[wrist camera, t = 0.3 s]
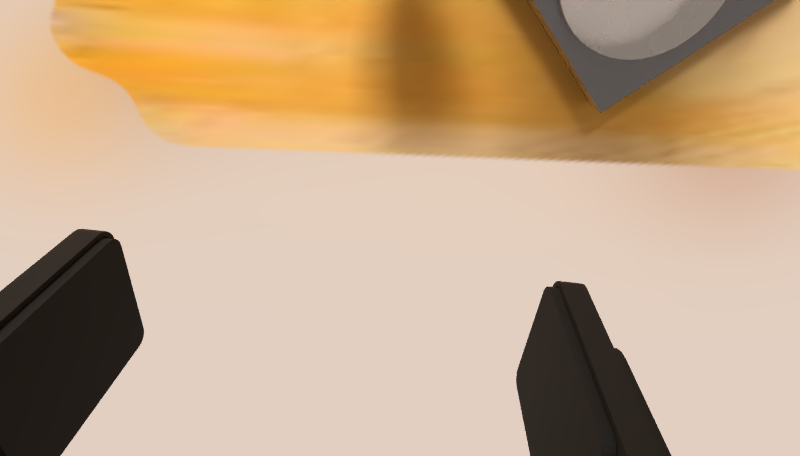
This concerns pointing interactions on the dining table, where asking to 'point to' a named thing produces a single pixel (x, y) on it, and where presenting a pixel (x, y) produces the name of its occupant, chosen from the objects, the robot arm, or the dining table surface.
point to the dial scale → (632, 38)
